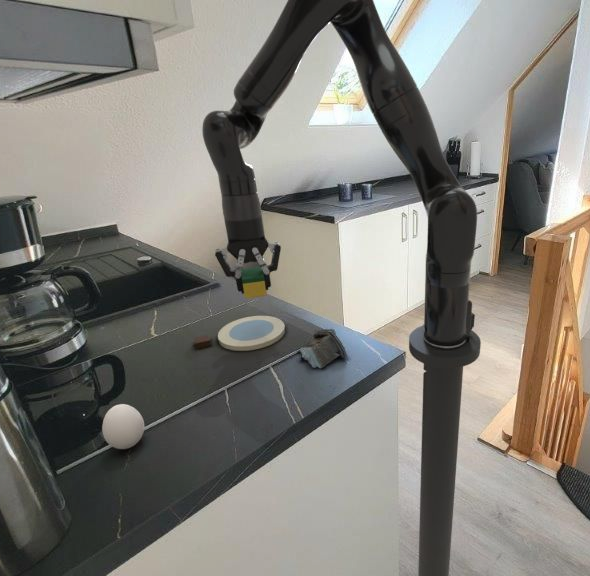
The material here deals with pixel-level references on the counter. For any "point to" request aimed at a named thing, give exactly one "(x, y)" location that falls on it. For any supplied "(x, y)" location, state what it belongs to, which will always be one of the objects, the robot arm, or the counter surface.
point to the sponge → (253, 282)
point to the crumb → (202, 341)
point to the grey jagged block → (323, 348)
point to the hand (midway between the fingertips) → (255, 290)
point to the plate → (251, 333)
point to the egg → (122, 426)
